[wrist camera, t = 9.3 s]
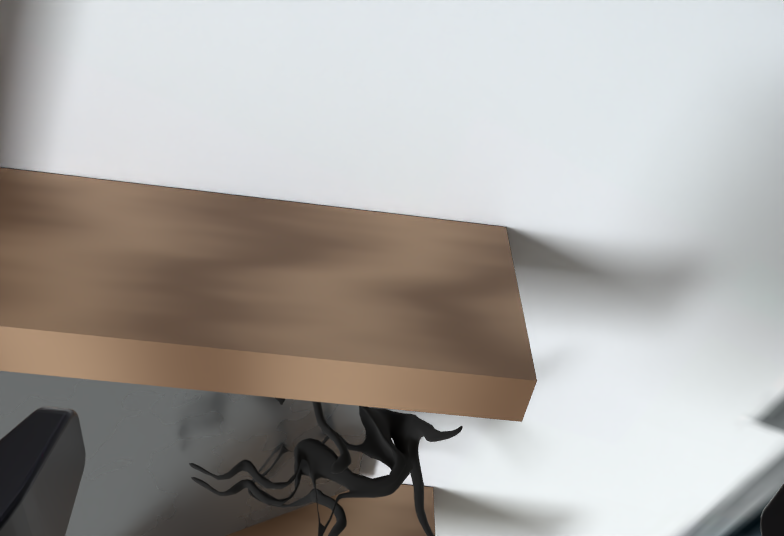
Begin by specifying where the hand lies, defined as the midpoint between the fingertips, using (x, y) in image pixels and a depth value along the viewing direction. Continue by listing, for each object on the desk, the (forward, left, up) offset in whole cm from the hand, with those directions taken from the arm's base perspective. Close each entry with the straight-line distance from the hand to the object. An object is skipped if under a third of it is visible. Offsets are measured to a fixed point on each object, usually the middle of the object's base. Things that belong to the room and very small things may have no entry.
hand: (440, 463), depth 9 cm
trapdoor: (+5, +12, -10) cm, 17 cm away
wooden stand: (+5, +12, -13) cm, 19 cm away
